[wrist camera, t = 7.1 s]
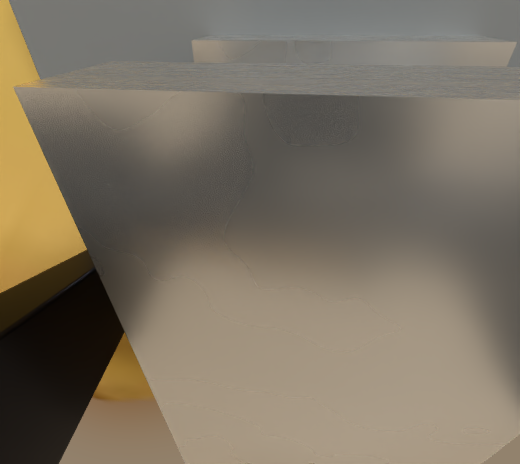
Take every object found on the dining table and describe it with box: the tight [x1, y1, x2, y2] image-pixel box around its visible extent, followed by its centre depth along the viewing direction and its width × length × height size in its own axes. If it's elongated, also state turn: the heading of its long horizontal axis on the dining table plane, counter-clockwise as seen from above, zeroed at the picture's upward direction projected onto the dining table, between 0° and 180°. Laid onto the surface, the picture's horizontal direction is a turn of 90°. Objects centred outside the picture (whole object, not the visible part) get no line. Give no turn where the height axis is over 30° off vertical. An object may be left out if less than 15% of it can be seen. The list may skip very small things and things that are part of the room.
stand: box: [9, 0, 520, 79], centre depth 11 cm, size 16×15×3 cm
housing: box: [14, 35, 520, 464], centre depth 7 cm, size 6×9×6 cm, turn 0°
